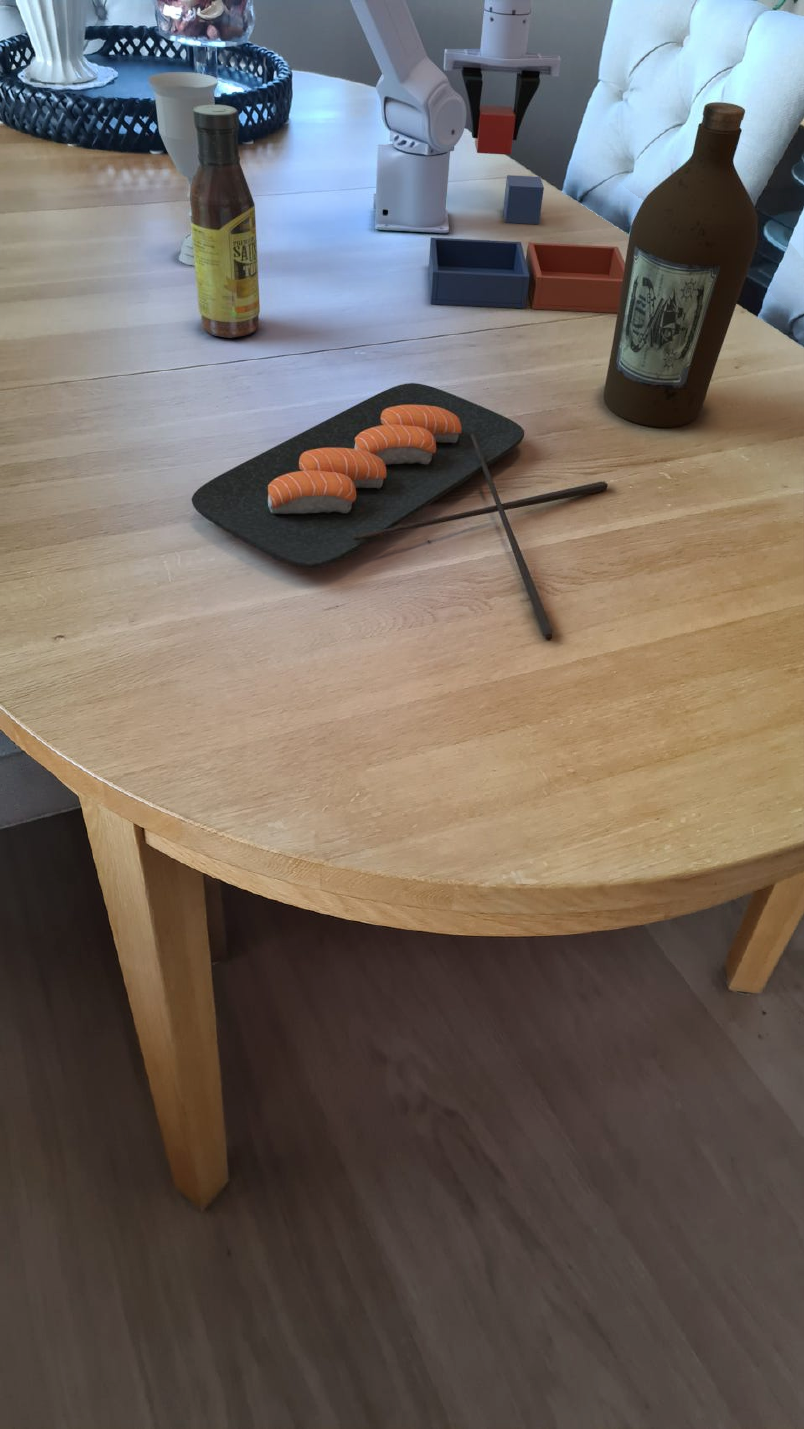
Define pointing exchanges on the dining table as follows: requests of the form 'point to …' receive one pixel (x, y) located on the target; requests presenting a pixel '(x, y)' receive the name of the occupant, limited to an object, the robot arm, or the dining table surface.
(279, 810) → the dining table surface
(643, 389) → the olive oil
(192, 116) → the chalice
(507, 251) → the blue bin
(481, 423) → the sushi plate
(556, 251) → the red bin
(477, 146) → the red block
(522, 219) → the blue block
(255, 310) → the sauce bottle
